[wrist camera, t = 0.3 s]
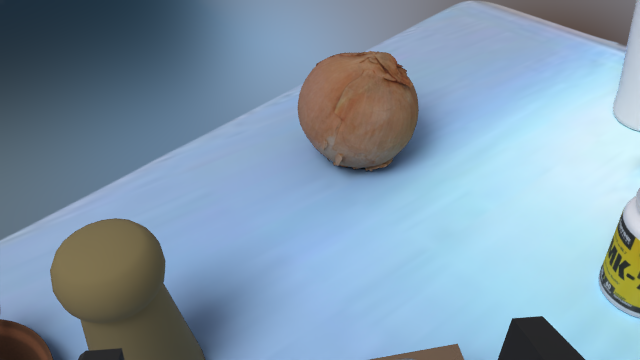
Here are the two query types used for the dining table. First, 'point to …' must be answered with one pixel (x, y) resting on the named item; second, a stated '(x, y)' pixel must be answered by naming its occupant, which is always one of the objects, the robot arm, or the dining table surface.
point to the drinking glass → (630, 78)
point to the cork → (121, 292)
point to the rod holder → (429, 354)
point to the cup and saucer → (21, 343)
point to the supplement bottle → (624, 262)
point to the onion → (358, 109)
